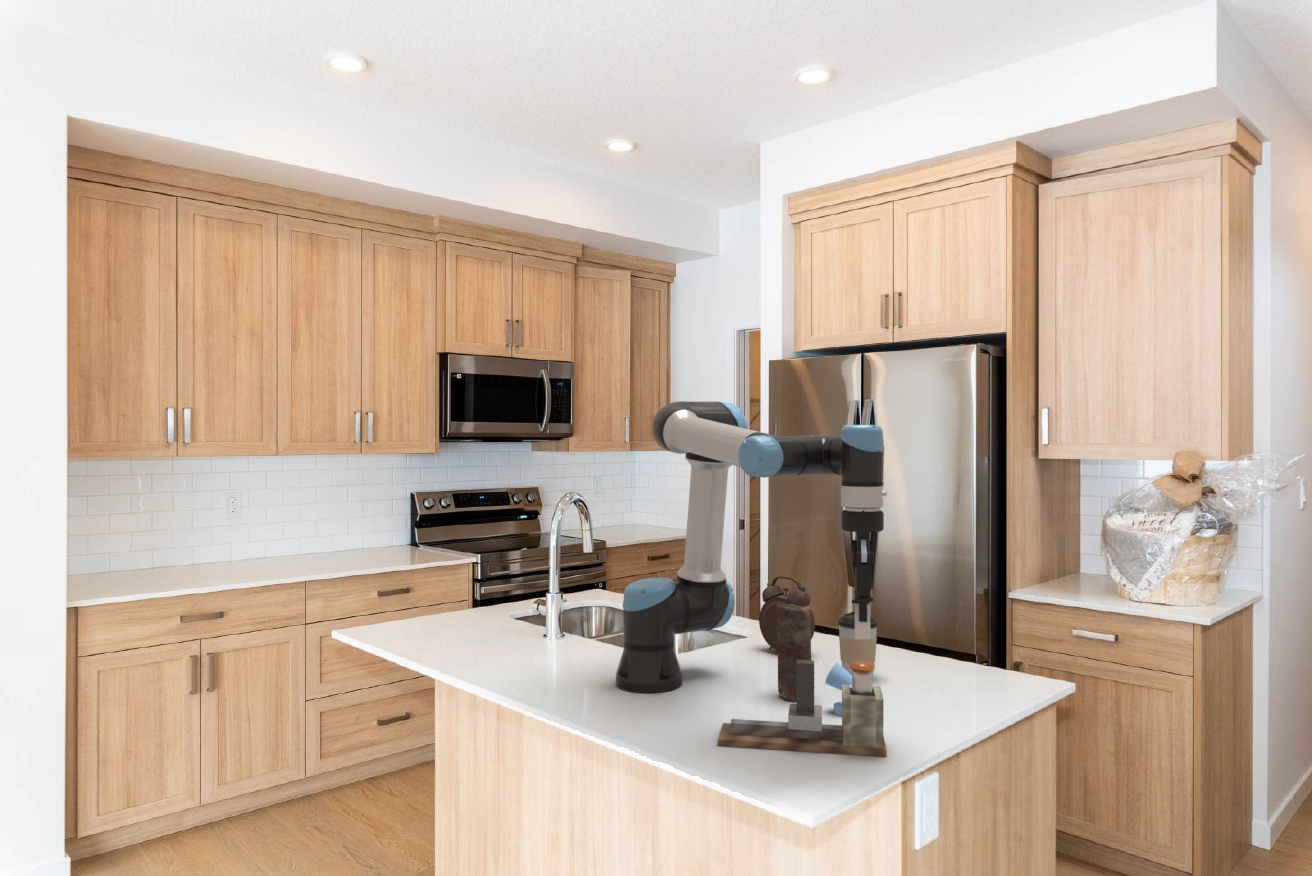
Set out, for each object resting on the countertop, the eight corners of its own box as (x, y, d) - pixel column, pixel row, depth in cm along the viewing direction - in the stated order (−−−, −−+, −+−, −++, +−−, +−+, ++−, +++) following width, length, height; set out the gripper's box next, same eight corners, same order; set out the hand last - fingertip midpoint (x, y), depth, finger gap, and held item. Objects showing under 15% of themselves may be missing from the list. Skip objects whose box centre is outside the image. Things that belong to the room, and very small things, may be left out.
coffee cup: (878, 685, 199) (878, 619, 199) (837, 682, 201) (837, 617, 201) (876, 674, 208) (876, 611, 208) (837, 672, 210) (837, 609, 209)
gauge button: (850, 709, 158) (850, 666, 158) (849, 702, 163) (849, 660, 163) (875, 711, 158) (875, 667, 157) (873, 703, 162) (873, 661, 162)
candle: (770, 694, 192) (770, 602, 192) (799, 690, 195) (799, 600, 195) (789, 704, 185) (789, 609, 185) (818, 699, 188) (818, 606, 188)
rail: (717, 745, 161) (717, 691, 160) (723, 729, 169) (723, 677, 169) (886, 756, 155) (886, 700, 155) (882, 739, 164) (883, 685, 164)
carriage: (788, 729, 159) (788, 666, 159) (789, 716, 166) (789, 656, 166) (821, 731, 158) (822, 667, 158) (821, 718, 165) (821, 657, 165)
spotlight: (822, 713, 179) (855, 718, 176) (822, 664, 179) (855, 669, 175) (830, 706, 183) (863, 712, 180) (830, 659, 183) (863, 663, 180)
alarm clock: (818, 656, 224) (818, 578, 224) (801, 661, 219) (801, 581, 219) (773, 646, 235) (773, 571, 235) (756, 650, 230) (756, 574, 230)
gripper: (886, 512, 153) (886, 647, 153) (881, 506, 166) (881, 631, 166) (842, 512, 154) (842, 646, 154) (840, 505, 167) (840, 629, 167)
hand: (862, 638), depth 160 cm, fingers closed
